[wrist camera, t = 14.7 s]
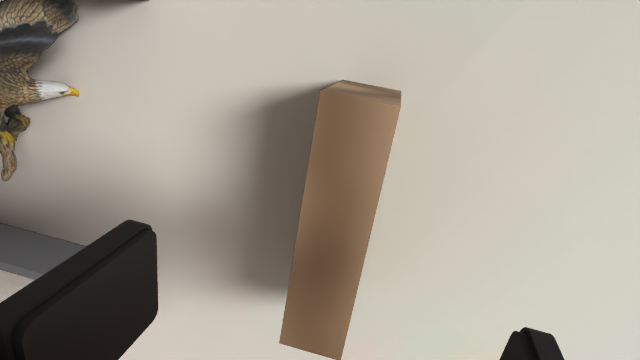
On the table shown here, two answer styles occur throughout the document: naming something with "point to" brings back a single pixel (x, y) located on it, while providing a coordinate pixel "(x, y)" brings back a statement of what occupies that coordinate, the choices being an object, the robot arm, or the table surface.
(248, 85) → the table surface
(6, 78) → the eagle figurine
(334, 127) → the brown rectangular block
